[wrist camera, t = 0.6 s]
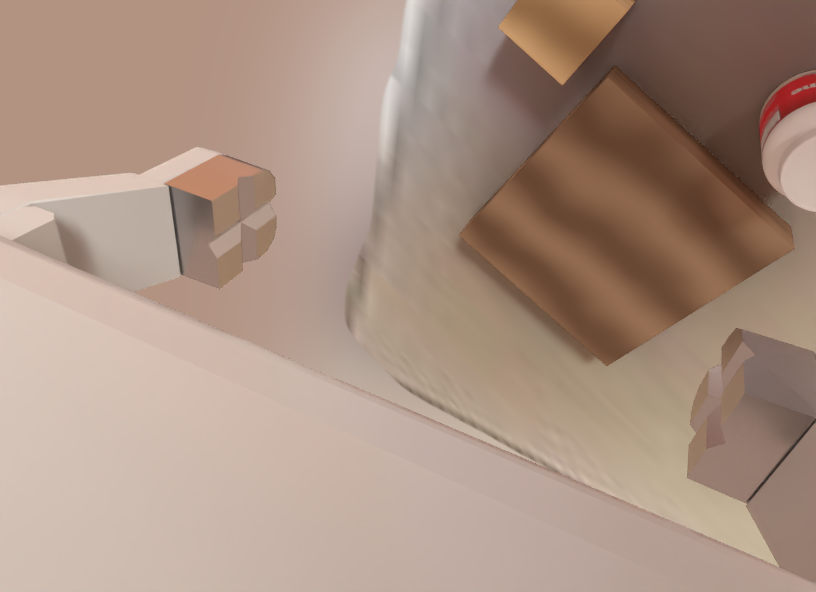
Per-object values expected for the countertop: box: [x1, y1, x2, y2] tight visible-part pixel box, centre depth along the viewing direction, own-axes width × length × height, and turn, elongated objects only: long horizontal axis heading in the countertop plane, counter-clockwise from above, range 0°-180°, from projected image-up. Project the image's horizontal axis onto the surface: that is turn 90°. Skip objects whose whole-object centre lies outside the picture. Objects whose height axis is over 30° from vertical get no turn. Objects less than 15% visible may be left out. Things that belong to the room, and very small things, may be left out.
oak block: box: [498, 0, 636, 85], centre depth 41 cm, size 6×6×5 cm
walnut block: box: [459, 66, 795, 366], centre depth 49 cm, size 18×18×4 cm
